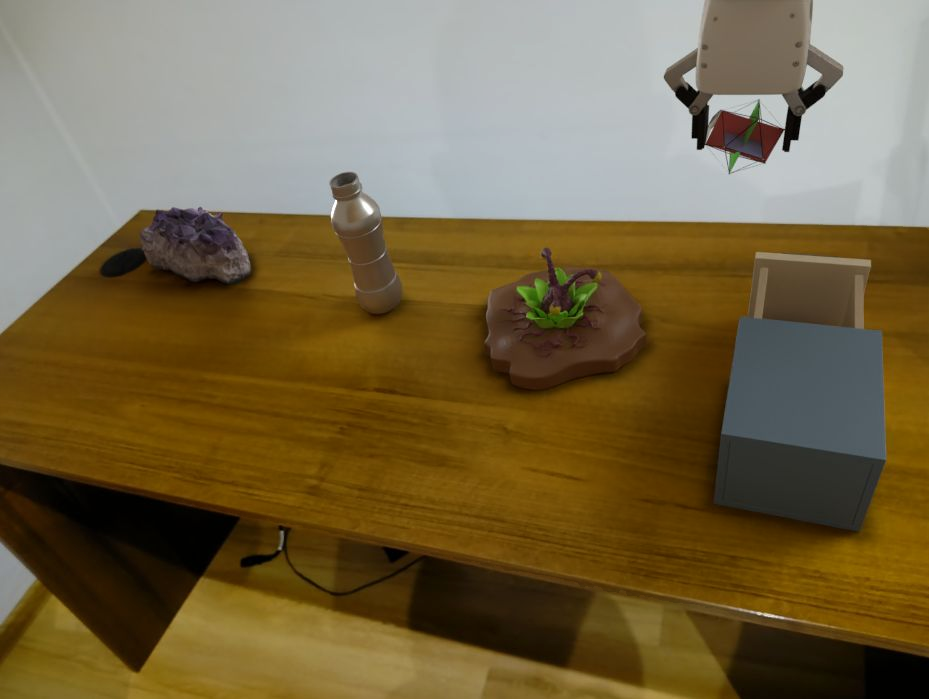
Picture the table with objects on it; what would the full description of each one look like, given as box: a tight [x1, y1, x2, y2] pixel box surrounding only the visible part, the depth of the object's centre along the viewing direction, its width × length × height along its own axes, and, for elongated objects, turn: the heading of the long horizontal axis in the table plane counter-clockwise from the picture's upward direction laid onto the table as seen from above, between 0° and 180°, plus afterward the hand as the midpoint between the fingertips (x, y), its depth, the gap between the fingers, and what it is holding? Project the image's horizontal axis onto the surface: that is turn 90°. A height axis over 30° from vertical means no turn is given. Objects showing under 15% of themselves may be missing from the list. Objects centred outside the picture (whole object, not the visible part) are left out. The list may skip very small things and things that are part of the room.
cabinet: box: [713, 316, 887, 533], centre depth 68 cm, size 16×13×11 cm
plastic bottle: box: [328, 171, 404, 315], centre depth 94 cm, size 6×7×20 cm
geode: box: [139, 206, 253, 285], centre depth 114 cm, size 20×12×10 cm, turn 60°
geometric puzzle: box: [705, 98, 785, 175], centre depth 76 cm, size 7×7×8 cm
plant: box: [483, 247, 647, 391], centre depth 87 cm, size 20×20×11 cm
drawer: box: [747, 251, 872, 329], centre depth 78 cm, size 19×11×9 cm, turn 159°
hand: (743, 143), depth 77 cm, fingers closed on geometric puzzle, 8 cm apart
